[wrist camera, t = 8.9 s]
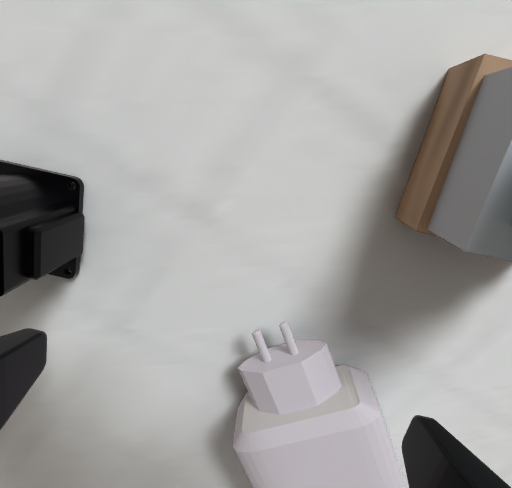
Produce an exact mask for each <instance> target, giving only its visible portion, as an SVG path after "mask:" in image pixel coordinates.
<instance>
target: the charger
mask: <svg viewBox="0 0 512 488" xmlns="http://www.w3.org/2000/svg"><path fill="white" fill-rule="evenodd" d="M279 327H280V329H281V332H282V334H283V337H284V339H285V342H286V343H285V344H282V345H278V346H275V347H271V348H268V349H267V346H266V344H265V341H264V339H263V336H262V334H261V332H260V331H259V330H255V331H254V332H253V333H252V335H253V338H254V340H255V342H256V345H257V347H258V349H259V353H257V354H256V355H254V356H252V357H251V358H249V359H247V360H246V361H244V362H243V363H242V364H241V365H240V366H239V367H238V370H239V372H240V375H241V377H242V379H243V381H244V383H245V386H246V388H247V390H248V392H247V393H246V394H245V396H244V398H243V399H242V401H241V403H240V405H239V407H238V411H237V418H236V425H235V432H234V438H233V449H234V451H235V453H236V455H237V457H238V459H239V461H240V463H241V465H242V467H243V469H244V471H245V473H246V475H247V477H248V479H249V481H250V483H251V485H252V487H253V488H406V485H405V482H404V479H403V476H402V472H401V469H400V466H399V463H398V460H397V457H396V454H395V451H394V448H393V445H392V442H391V439H390V436H389V432H388V429H387V426H386V423H385V420H384V417H383V414H382V411H381V408H380V405H379V403H378V400H377V398H376V395H375V392H374V390H373V387H372V385H371V382H370V379H369V377H368V374H367V373H366V372H364V371H361V370H359V369H356V368H353V367H351V366H348V365H338V366H334V363H333V360H332V357H331V354H330V352H329V349H328V346H327V343H324V342H322V341H319V340H296V341H294V338H293V336H292V333H291V330H290V328H289V325H288V323H286V322H282V323H281V324H280V326H279Z"/></svg>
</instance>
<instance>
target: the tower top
mask: <svg viewBox="0 0 512 488" xmlns="http://www.w3.org/2000/svg"><path fill="white" fill-rule="evenodd" d="M511 221H512V67H510V68H507V69H504V70H500V71H497V72H494V73H491V74H488V75H484V78H483V81H482V83H481V86H480V89H479V91H478V94H477V97H476V99H475V102H474V105H473V107H472V110H471V113H470V115H469V118H468V121H467V123H466V126H465V129H464V131H463V134H462V137H461V139H460V142H459V145H458V147H457V150H456V153H455V155H454V158H453V161H452V163H451V166H450V169H449V171H448V174H447V177H446V179H445V182H444V185H443V187H442V190H441V193H440V195H439V198H438V201H437V203H436V206H435V209H434V211H433V214H432V217H431V219H430V222H429V225H428V227H427V229H428V230H429V231H431V232H433V233H434V234H436V235H438V236H440V237H441V238H443V239H445V240H446V241H448V242H450V243H451V244H453V245H455V246H456V247H458V248H460V249H461V250H463V251H465V252H469V253H474V254H479V255H483V256H488V257H493V258H497V259H502V260H507V261H512V226H509V225H510V223H511Z"/></svg>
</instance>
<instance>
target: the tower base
mask: <svg viewBox="0 0 512 488" xmlns="http://www.w3.org/2000/svg"><path fill="white" fill-rule="evenodd" d="M510 67H512V60H508V59H504V58H500V57H496V56H492V55H488V54H483V55H481V56H478V57H476V58H474V59H471V60H469V61H466V62H464V63H462V64H459V65H457V66H454V67H452V68H449V70H448V73H447V76H446V78H445V81H444V84H443V87H442V89H441V92H440V95H439V98H438V100H437V103H436V106H435V108H434V111H433V114H432V117H431V119H430V122H429V125H428V128H427V130H426V133H425V136H424V139H423V141H422V144H421V147H420V150H419V152H418V155H417V158H416V161H415V163H414V166H413V169H412V171H411V174H410V177H409V180H408V182H407V185H406V188H405V191H404V193H403V196H402V199H401V202H400V204H399V207H398V210H397V213H396V215H395V217H396V218H397V219H399V220H400V221H402V222H403V223H405V224H406V225H408V226H409V227H411V228H412V229H414V230H415V231H418V232H422V233H427V234H431V235H435V236H438V235H436V234H434V233H433V232H431V231H429V230H428V229H427V227H428V225H429V222H430V219H431V217H432V214H433V211H434V209H435V206H436V203H437V201H438V198H439V195H440V193H441V190H442V187H443V185H444V182H445V179H446V177H447V174H448V171H449V169H450V166H451V163H452V161H453V158H454V155H455V153H456V150H457V147H458V145H459V142H460V139H461V137H462V134H463V131H464V129H465V126H466V123H467V121H468V118H469V115H470V113H471V110H472V107H473V105H474V102H475V99H476V97H477V94H478V91H479V89H480V86H481V83H482V81H483V78H484V75H488V74H491V73H494V72H497V71H500V70H504V69H507V68H510ZM439 237H440V236H439Z"/></svg>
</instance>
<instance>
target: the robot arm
mask: <svg viewBox="0 0 512 488" xmlns="http://www.w3.org/2000/svg"><path fill="white" fill-rule="evenodd" d="M72 182H74V183H75V185H76V188H75V189H73V187H72V185H71V183H72ZM83 192H84V185H83V182H82V180H81V179H79V178H78V177H75V176H70V175H66V174H61V173H57V172H52V171H48V170H43V169H39V168H35V167H30V166H26V165H21V164H17V163H12V162H8V161H3V160H0V296H3V295H4V294H6V293H8V292H10V291H12V290H13V289H15V288H17V287H19V286H20V285H22V284H24V283H26V282H27V281H29V280H31V279H35V280H37V279H39V278H41V277H43V276H45V275H46V274H50V275H54V276H59V277H63V278H73V277H75V276H76V275H77V274H78V273H79V263H80V254H82V251H83V234H84V215H83V213H82V209H83ZM68 268H70V269H71V271H72V273H71V272H69V271H68ZM46 356H47V335H46V333H45V332H43V331H39V330H35V329H29V328H28V329H23V330H20V331H17V332H14V333H11V334H7V335H4V336H1V337H0V430H1V428H2V427H3V426H4V424H5V423H6V422H7V420H8V419H9V417H10V416H11V415H12V413H13V412H14V410H15V409H16V407H17V406H18V405H19V403H20V402H21V400H22V399H23V398H24V396H25V395H26V393H27V392H28V391H29V389H30V388H31V386H32V385H33V383H34V382H35V381H36V379H37V378H38V376H39V375H40V374H41V372H42V371H43V369H44V367H45V364H46ZM402 453H403V458H404V463H405V468H406V473H407V479H408V484H409V488H511V487H510V486H509V485H508V484H507V483H505V482H504V481H503V480H502V479H501V478H500V477H499V476H498V475H496V474H495V473H494V472H493V471H492V470H491V469H490V468H489V467H487V466H486V465H485V464H484V463H483V462H482V461H481V460H480V459H478V458H477V457H476V456H475V455H474V454H473V453H472V452H471V451H469V450H468V449H467V448H466V447H465V446H464V445H463V444H462V443H460V442H459V441H458V440H457V439H456V438H455V437H454V436H453V435H452V434H450V433H449V432H448V431H447V430H446V429H445V428H444V427H443V426H441V425H440V424H439V423H438V422H437V421H436V420H434V419H432V418H429V417H425V416H420V415H417V416H415V417H413V419H412V421H411V423H410V425H409V427H408V430H407V432H406V434H405V436H404V438H403V441H402Z"/></svg>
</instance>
